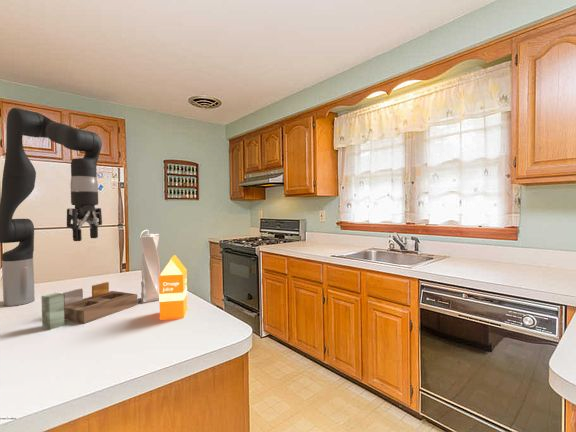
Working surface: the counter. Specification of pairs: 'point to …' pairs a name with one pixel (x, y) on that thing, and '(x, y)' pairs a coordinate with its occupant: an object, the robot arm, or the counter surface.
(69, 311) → the socket block
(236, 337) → the counter surface
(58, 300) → the green plug
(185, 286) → the orange juice
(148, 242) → the skyscraper
